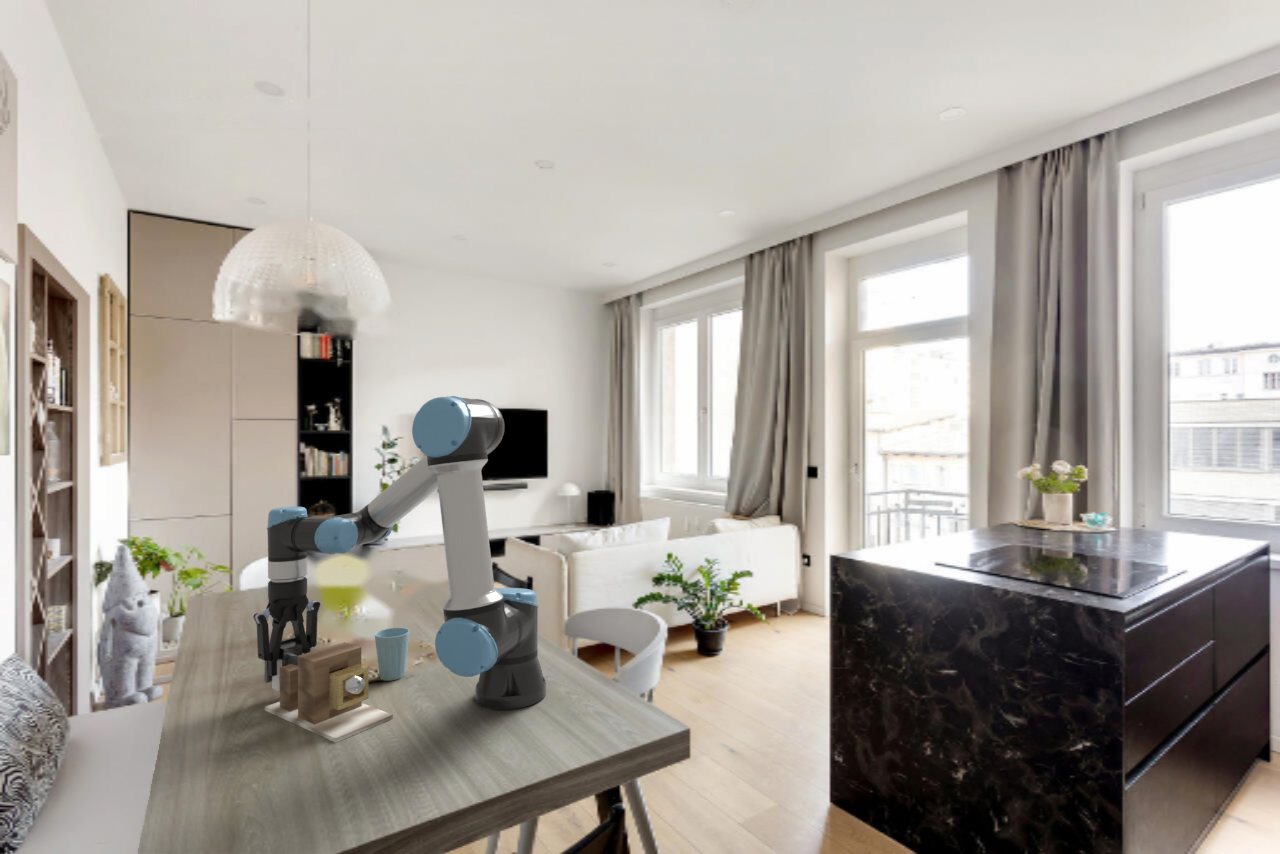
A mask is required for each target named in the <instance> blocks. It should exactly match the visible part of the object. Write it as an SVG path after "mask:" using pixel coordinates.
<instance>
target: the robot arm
mask: <svg viewBox="0 0 1280 854" xmlns="http://www.w3.org/2000/svg"><path fill="white" fill-rule="evenodd" d="M411 432H412V433H411V434H412V440H413V443H414V444H415V446H416V448H417V449H420V452H421V453H422V454H424V456H423V457H422V458H421V459H420V460H419V461H418V462H416V463H415V464H413V466H411V467H410V468H409V469H408V470H407V471H405V473H403V474H402V475H401V476H399V477H398V478H397V479H396V480H394V482H392V483H391V484H390V485H389V486H387V487H386V488H385V489H384V490H383V491H382V492H380V493H379V494H378V495H377V496H376V497H374V498H373V499H371V501H370V502H368V504H367V505H365V506H364V507H363V508H361V509H360V510H359V511H356V512H355V511H354V512H349V513H346V514H340V515H334V516H327V517H311V516H310V517H309V515H308V511H307V508H305V507H303V506H284V507H283V506H282V507H275V508H272V509H271V510H269V513H268V517H267V528H266V531H267V578H268V579H269V581H268V582H267V597H268V599H267V600H268V603H267V605H266V609H265V610H263V611H261V612H260V613H258V612H256V613H254V614H253V621H254V622H255V625H256V635H257V636H256V641H257V658H258V659H259V660H262V661H264V662H265V661H268V674H269V675H270V676H272V681H271V688H272V690H274V691H276V692H279V693H280V667H282V660H281V659H278V657H279V652H280V647H281V642H282V640H283V637H284V636H283V635H284V630H285V629H286V626H287V623H289V622H290V623H291V625H292V630H293V634H294V637H295V639H296V642H298V643H301V644H302V655H303V654H306V653H310V652H311V651H312V650H311V649H312V648H315V647H316V646H317V641H318V640H317V639H318V637H317V636H318V613H319V610H320V607H321V603H320V601H316V600H309V598H308V596H307V594H308V578H307V577H306V576H307V575H308V553H314V554H326V555H337V554H342V555H343V554H346V553H348V552H350V551H352V549H353V548H354V547H358V546H361V545H366V544H370V543H371V544H372V543H373V544H374V543H377V542H379V541H381V540H383V539H387V538H388V536H390V534H391V533H392V530H393V528H394V526H395V524H398V522H400V521H401V520H402V519H403V518H404V517H405V516H407V515H409V514H410V512H412V511H413V510H414V509H415V508H417V507H418V506H419V505H420V504H422V503H423V502H424V501H425V500H426V499H427V498H429V497H430V496H431V495H433V494H434V493H435V492H436V491H438V497H439V507H440V515H441V524H442V525H441V526H442V534H443V543H444V551H445V560H446V561H445V563H446V571H447V580H448V581H447V582H448V587H449V588H448V589H449V597H448V599H446V602H445V603H444V604H443V605H442V606H443V607H442V609H443V617H444V618H443V619H444V622H443V623H442V624H441V626H440V628H439V630H438V631H437V632H436V635H435V640H434V647H435V651H436V652H435V653H436V655H437V657H438V659H439V661H440V663H441V664H442V665H443V666H444V667H445V668H447V669H448V670H449V672H451V673H453V674H454V675H457V676H459V677H465V678H470V677H471V678H472V677H474V676H475V677H476V676H478V675H479V677H478V681H477V683H476V685H475V689H474V693H475V695H474V696H475V697H474V699H475V702H476V703H477V704H478V705H479V706H481V707H483V708H487V709H493V710H514V709H521V708H526V707H529V706H532V705H534V704H537V703H538V702H540V701H541V700H543V699H544V698H545V696H546V694H547V682H546V679H545V677H544V675H543V670H542V667H541V664H540V661H539V656H538V649H539V648H538V646H539V645H538V643H539V642H538V632H539V631H538V630H539V629H538V628H539V625H538V624H539V623H538V620H539V619H538V617H539V616H538V613H539V612H538V608H539V605H538V597H537V593H536V592H535V591H534V590H532V589H528V588H521V587H520V588H519V587H499V588H496V587H495V582H494V571H493V565H492V564H493V563H492V556H491V555H492V553H491V547H490V538H489V530H488V520H487V511H486V504H485V503H486V502H485V494H484V484H483V475H482V469H483V467H484V466H486V464H487V463H488V461H489V459H488V455H489V454H491V453H492V452H493V451H494V450H495V449H496V448H497V447H498V446H499V444H500V443H501V441H502V439H503V436H504V434H505V421H504V418H503V415H502V412H501V411H500V409H498V408H497V407H496V406H495V405H494V404H492V403H491V402H489V401H487V400H484V399H481V398H480V399H479V398H468V397H467V398H466V397H461V396H460V397H459V396H455V395H452V396H448V395H447V396H439V397H433V398H432V399H429V400H428V401H426V402H425V403H423V405H422V406H421V407H420V408H419V410H418V411H417V412H416V414H415V416H414V419H413V421H412V427H411ZM305 609H306V613H305V615H306V616H305V620H306V621H304V616H303V613H304V611H305ZM269 616H270V617H271V618H272V622H271V625H272V628H271V629H272V630H271V634H270V633H269V632H270V631H269V622H268V621H270V619H269V618H270V617H269ZM304 622H305V625H304ZM269 634H270V635H269Z"/></svg>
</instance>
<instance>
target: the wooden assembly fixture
mask: <svg viewBox="0 0 1280 854" xmlns="http://www.w3.org/2000/svg"><path fill="white" fill-rule="evenodd" d="M358 664H361V665H362V646H358V645H355V644H352V643H349V642H346V641H345V642H342V643H338V644H333V645H330V646H327V647H324V648H320V649H316V650H313V651H310V652H309V653H306V654H303V655H299V656H298V666H296V665H293V664H290V665H286V666H283V667H280V691H279V701H277V702H274V703H272V704H268V705H266V706H264V710H265V712H266V713H267V712H268V713H270V714H272V715H274V716H277V717H279V718H281V719H283V720H285V721H287V722H290V723H291V724H294V725H296V726H298V727H301V728H303V729H305V730H306V731H309V732H311V733H314V734H316V735H318V736H320V737H322V738H324V739H327V740H329V741H331V742H333V743H338V742H341V741H343V740H345V738H346V739H349V738H350V737H353V736H355V735H357V734H359V733H362V732H364V731H366V730H368V729H372V728H374V727H376V726H379V725H381V724H383V723H386V722H387V721H391V720H392V719H393V717H394V715H393V714H392V713H390V712H387V711H384V710H381V709H379V708H377V707H374V706H371V705H368V704H366V703H365V702H364V703H363V701H361V702H359V703H356V704H353V705H351V706H348V707H346V708H343V709H340V710H336V709H334V708H331V707H330V700H329V672H331V671H334V670H342V669H345V668H349V667H352V666H355V665H358ZM349 694H352V693H350V692H348V691H345V690H343V696H346V695H349ZM352 735H353V736H352Z"/></svg>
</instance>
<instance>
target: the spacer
mask: <svg viewBox="0 0 1280 854" xmlns="http://www.w3.org/2000/svg"><path fill="white" fill-rule="evenodd" d="M354 676H357V677H360V678H362V679H364V681H365V687H364V689H363V690H362V692H360V693H359V694H353V693H352V694H349V695H346V696H343V680H346V679H349V678H352V677H354ZM368 699H369V666H368V665H365V664H362V663H361V664H358V665H355V666H352V667H349V668H345V669H342V670H339V671H336V672H333V673H330V674H329V700H330V707H331V708H334V709H336V710H340V709H343V708H346V707H348V706H351V705H353V704H356V703H359V702H361V701H362V702H363V701H367V700H368Z"/></svg>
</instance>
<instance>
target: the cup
mask: <svg viewBox="0 0 1280 854" xmlns="http://www.w3.org/2000/svg"><path fill="white" fill-rule="evenodd" d="M374 639H375V648H376V656H377V664H378V665H377V666H378V672H379V679H380V678H382V679H383V680H382V679H381V680H382V681H386V682H387V681H388V682H389V681H395V680H399V679H402V678H403V677H405V675H406V668H407V657H408V650H409V649H408V648H409V640H410V629H409V628H406V627H389V628H384V629H381V630H378V631H376V632H375V633H374Z"/></svg>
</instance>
